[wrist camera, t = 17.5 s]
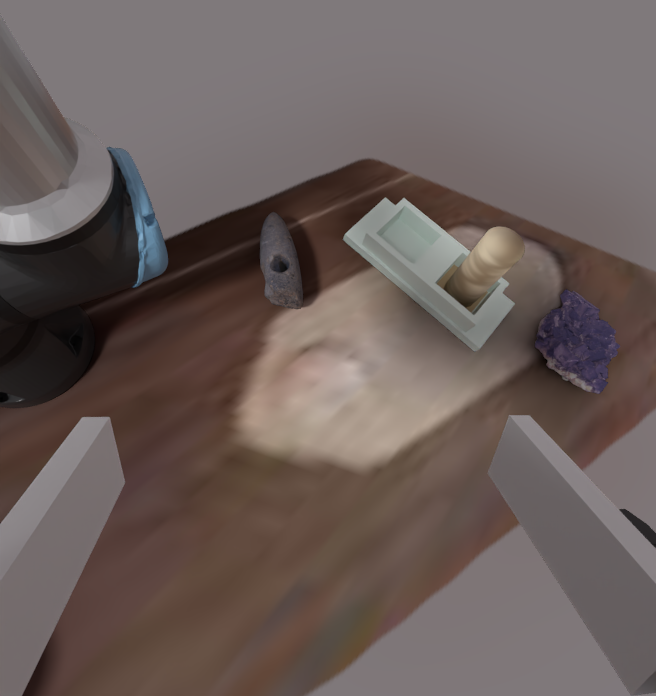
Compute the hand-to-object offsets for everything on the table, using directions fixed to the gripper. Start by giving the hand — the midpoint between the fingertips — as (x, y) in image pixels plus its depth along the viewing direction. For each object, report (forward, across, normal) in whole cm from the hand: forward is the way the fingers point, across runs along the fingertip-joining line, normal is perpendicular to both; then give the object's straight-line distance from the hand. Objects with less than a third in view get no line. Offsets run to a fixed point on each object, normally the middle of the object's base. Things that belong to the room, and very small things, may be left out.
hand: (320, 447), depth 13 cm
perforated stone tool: (+44, -2, -7) cm, 45 cm away
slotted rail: (+45, +21, -6) cm, 50 cm away
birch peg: (+40, +25, -7) cm, 48 cm away
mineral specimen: (+37, +42, -14) cm, 58 cm away
